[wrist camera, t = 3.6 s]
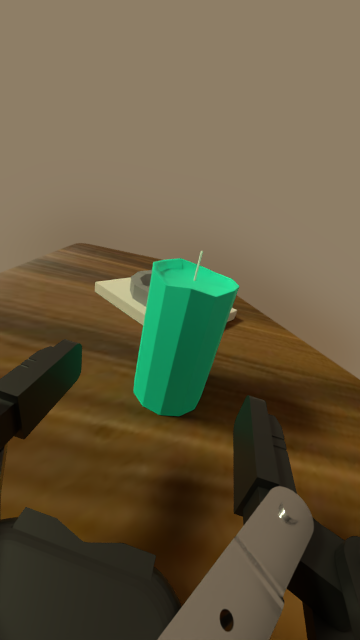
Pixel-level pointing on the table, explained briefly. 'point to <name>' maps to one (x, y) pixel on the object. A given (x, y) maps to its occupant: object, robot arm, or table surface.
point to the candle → (181, 334)
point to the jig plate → (125, 299)
